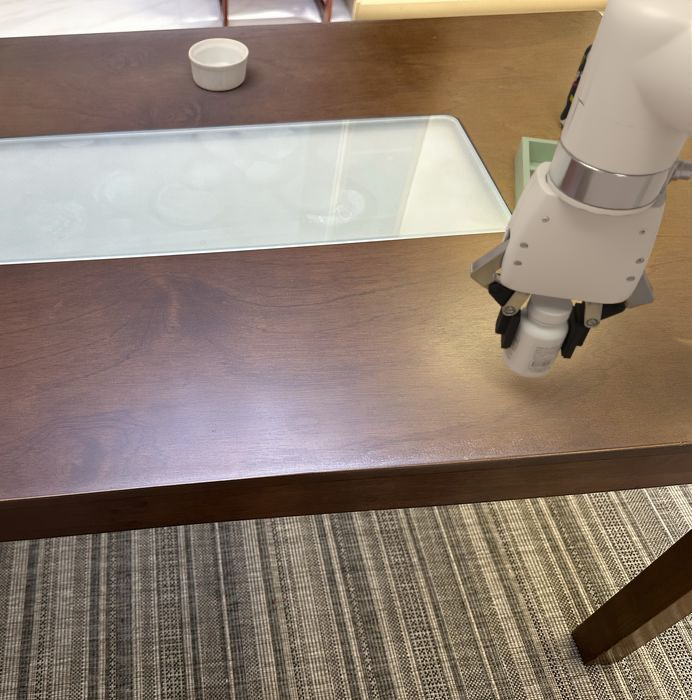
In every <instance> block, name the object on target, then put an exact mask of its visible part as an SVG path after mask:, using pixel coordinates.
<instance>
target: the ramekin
mask: <svg viewBox="0 0 692 700" xmlns="http://www.w3.org/2000/svg"><path fill="white" fill-rule="evenodd" d="M249 53H250V51H249V48H248V47H247V45H246V44H244V43H242V42H241V41H238V40H235V39H231V38H224V37H223V38H222V37H220V38H219V37H218V38H217V37H215V38H207V39H204V40H201V41H198V42H196V43H194V44H193V45H192V46H191V47H190V48H189V50H188V59H189V61H190V66H191V74H192V78H193V82H194V83H195V84H196V85H197V86H198V87H200V88H202V89H204V90H206V91H207V90H208V91H211V92H226V91H231V90H233V89H235V88H237V87H239V86H240V85H242V84H243V82H244V81H245V79H246V73H247V65H248V63H247V62H248V58H249Z"/></svg>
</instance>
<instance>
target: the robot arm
mask: <svg viewBox="0 0 692 700" xmlns="http://www.w3.org/2000/svg"><path fill="white" fill-rule="evenodd" d="M689 137H691V138H692V0H608V1H607V4H606V7H605V8H604V12H603V14H602V16H601V19H600V23H599V25H598V29H597V30H596V33H595V36H594V39H593V42H592V47H591V50H590V53H589V56H588V59H587V62H586V64H585V67H584V70H583V73H582V76H581V79H580V81H579V84H578V87H577V90H576V93H575V96H574V99H573V101H572V104H571V107H570V110H569V113H568V116H567V118H566V121H565V124H564V126H562V129H561V133H560V136H559V138H558V140H557V141H558V144H557V147H556V150H555V152H554V155H553V158H552V161H551V162H543V163H541V164H540V165H539V166H538V167H537V169H536V170H535V172H534V173H533V175H532V176H531V178H530V180H529V181H528V183H527V185H526V187H525V189H524V191H523V193H522V195H521V197H520V199H519V201H518V203H517V205H516V207H515V206H514V209H513V211H512V214H511V217H510V219H509V221H508V223H507V226H506V229H505V231H504V233H503V237H502V239H501V242H500V244H498V245H497V246H496V247H494V248H492V249H491V250H490V251H488V252H487V253H484V255H482V256H481V257H479V258H477V259H476V260H475V261H473V262H471V264H470V268H469V269H470V270H469V271H470V272H469V277H470V278H471V279H472V280H473V281H474V282H475V283H477V285H479V286H481V287H482V288H483V289H486V290H487V291H488V294H489V296H490V297H492V299H493V300H494V301H495V302H496V303H497V304H498V305H499V306H500V309H499V312H498V315H497V317H496V321H495V325H494V333H495V335H500V348H501V349H503V350H504V349H508V348H510V347H511V344H512V342H513V339H514V336H515V334H516V331H517V329H518V326H519V324H520V321H521V309H522V308H523V307H522V306H523V305H524V304H525V303H526V301H527V300H529V298H530V296H531V294H537V295H543V296H550V297H557V298H564V299H571V301H572V300H573V301H580V302H575V303H574V304H573V308H572V311H571V313H570V316H569V318H568V323H569V330H568V333H567V336H566V338H565V340H564V342H563V344H562V347H561V349H560V356H561V357H563V359H567V360H571V359H572V357H573V355H574V352H575V350H576V348H577V347H582V346H583V345H584V343H585V340H586V339H587V337H588V336H589V332H590V331H591V329H595V328H597V327H599V326H600V324H601V321H603V320H606V319H609V318H611V317H614V316H616V315H619V314H622V313H624V311H625V310H626V309H633V308H637V307H641V306H644V305H645V306H646V305H649V304H651V303H653V302H654V301H655V294H654V287H653V286H652V283H651V282H650V279H649V277H648V275H647V273H646V270H645V269H646V266H647V264H648V261H649V259H650V256H651V253H652V251H653V248H654V246H655V243H656V239H657V237H658V233H659V231H660V226H661V224H662V220H663V215H664V212H665V207H666V202H667V186H668V185H669V184H671V182H672V181H673V182H676V181H678V180H680V181H689V180H690V179H691V178H692V160H686V159H684V158H683V157H679V156H680V154H681V151H682V149H683V147H684V145H685V143H686V141H687V139H688V138H689ZM498 270H500V273H499V272H497V271H498Z"/></svg>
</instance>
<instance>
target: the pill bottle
mask: <svg viewBox="0 0 692 700" xmlns="http://www.w3.org/2000/svg"><path fill="white" fill-rule="evenodd" d="M573 306H574V303H573V301H572V300H571V299H564V298H557V297H550V296H543V295H537V294H531V295H530V296H529V298H528V301H527V303H526V306H524V307H522V308H521V321H520V324H519V326H518V329H517V331H516V334H515V336H514V339H513V342H512V344H511V347H510V348H508V349H503V352H502V359H503V363H504V364H505V367H507V368H508V369H509V370H510V371H511V372H513V373H514V374H516V375H518V376H521V377H524V378H529V379H530V378H531V379H534V378H535V379H536V378H541V377H544V376H545V375H547V374H548V373H550V372H551V370H552V368H553V366H554V364H555V362H556V359H557V357H558V355H559V353H560V352H561V347H562V344H563V342H564V340H565V338H566V336H567V333H568V330H569V323H568V318H569V316H570V313H571V311H572V308H573Z"/></svg>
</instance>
